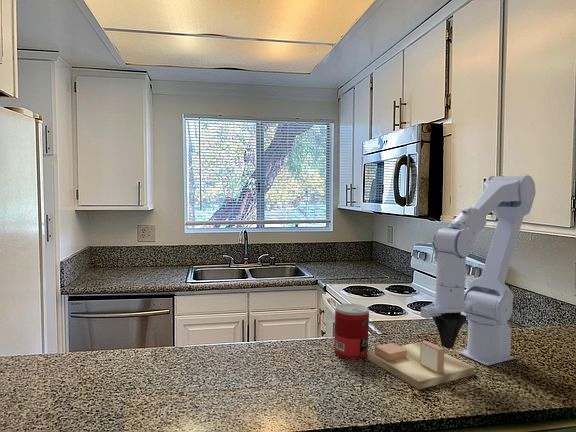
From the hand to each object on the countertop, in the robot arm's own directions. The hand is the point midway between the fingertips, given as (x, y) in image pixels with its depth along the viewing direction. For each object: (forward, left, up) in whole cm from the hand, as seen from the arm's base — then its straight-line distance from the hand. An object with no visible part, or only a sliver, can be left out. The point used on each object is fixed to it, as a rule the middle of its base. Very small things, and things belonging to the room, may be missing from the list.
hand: (447, 346), depth 88 cm
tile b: (+4, 0, -4) cm, 6 cm away
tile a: (+5, -9, -3) cm, 11 cm away
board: (+3, -5, -6) cm, 8 cm away
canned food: (+13, -17, -6) cm, 22 cm away
